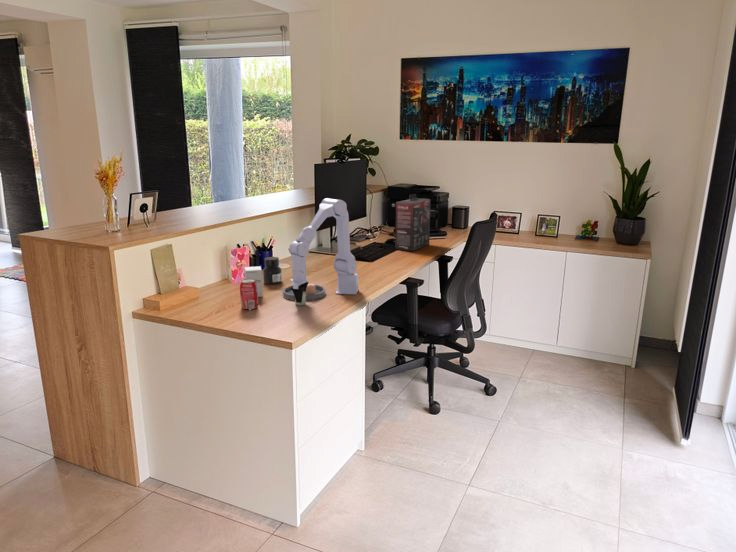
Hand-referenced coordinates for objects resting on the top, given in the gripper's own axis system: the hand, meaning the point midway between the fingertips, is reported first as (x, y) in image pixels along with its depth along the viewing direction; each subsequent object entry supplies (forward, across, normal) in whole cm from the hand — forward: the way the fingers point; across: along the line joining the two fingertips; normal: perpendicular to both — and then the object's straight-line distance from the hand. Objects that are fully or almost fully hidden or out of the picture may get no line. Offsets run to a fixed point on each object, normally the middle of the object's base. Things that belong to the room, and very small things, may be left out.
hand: (300, 300), depth 235 cm
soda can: (+2, +7, -20) cm, 21 cm away
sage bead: (+2, 0, 0) cm, 2 cm away
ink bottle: (+2, -33, -22) cm, 40 cm away
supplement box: (+2, -11, -24) cm, 26 cm away
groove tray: (+2, -15, -2) cm, 15 cm away
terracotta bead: (+1, -11, +2) cm, 11 cm away
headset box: (+2, -123, +42) cm, 130 cm away
